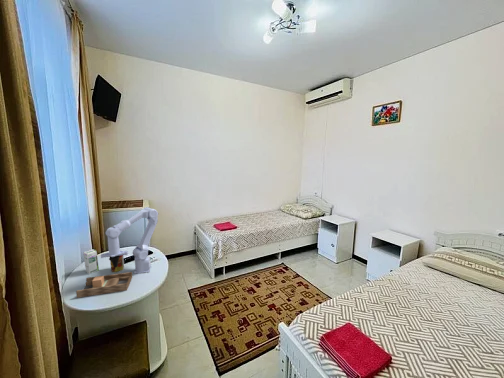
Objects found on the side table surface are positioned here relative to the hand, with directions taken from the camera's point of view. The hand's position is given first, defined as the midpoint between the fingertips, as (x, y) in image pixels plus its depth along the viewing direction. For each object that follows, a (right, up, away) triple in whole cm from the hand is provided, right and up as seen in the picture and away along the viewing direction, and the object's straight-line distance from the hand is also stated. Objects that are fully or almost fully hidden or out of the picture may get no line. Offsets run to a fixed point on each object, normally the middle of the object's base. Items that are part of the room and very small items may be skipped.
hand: (115, 266), depth 137 cm
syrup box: (-24, -8, +12) cm, 28 cm away
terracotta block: (-6, -9, -7) cm, 12 cm away
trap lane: (-2, -10, -5) cm, 12 cm away
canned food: (-8, -7, +15) cm, 18 cm away
